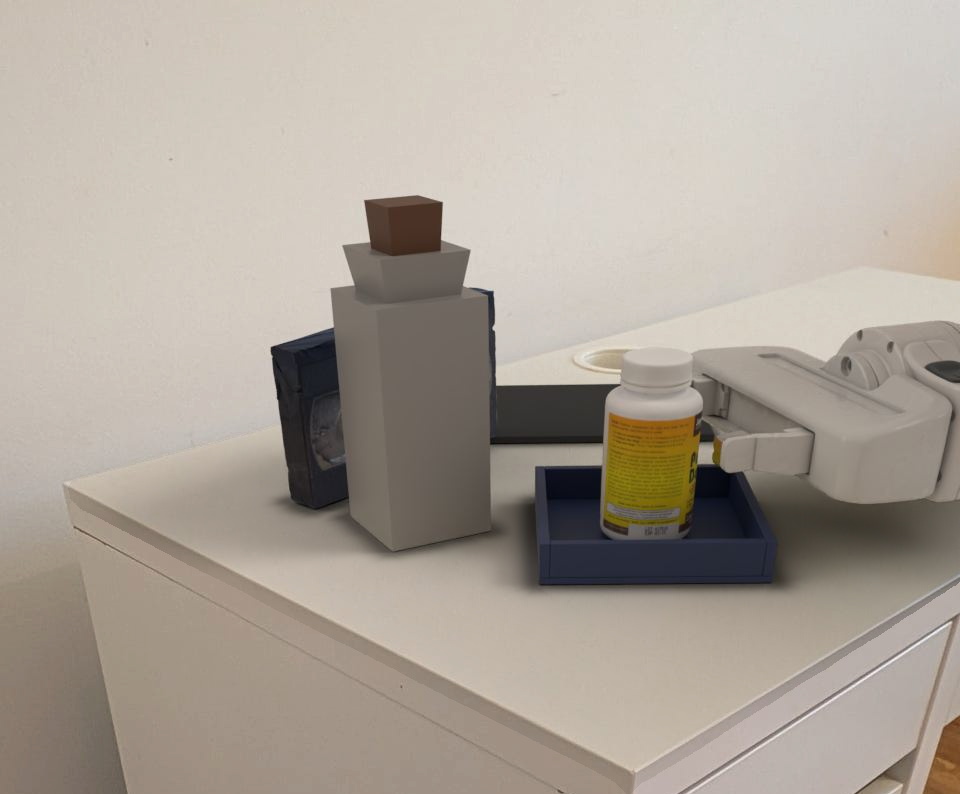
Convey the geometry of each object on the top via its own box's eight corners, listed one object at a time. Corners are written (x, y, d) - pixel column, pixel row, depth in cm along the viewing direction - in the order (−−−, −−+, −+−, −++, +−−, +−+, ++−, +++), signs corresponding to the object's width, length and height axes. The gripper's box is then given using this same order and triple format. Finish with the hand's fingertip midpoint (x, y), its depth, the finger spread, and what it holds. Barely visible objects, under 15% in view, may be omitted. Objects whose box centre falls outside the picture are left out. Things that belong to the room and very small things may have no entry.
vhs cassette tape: (313, 511, 75) (292, 351, 68) (285, 501, 76) (261, 343, 70) (504, 437, 85) (500, 291, 78) (475, 429, 86) (469, 285, 80)
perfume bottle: (350, 516, 74) (322, 199, 63) (444, 497, 76) (432, 189, 65) (392, 551, 69) (369, 214, 58) (491, 530, 71) (486, 203, 61)
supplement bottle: (699, 548, 67) (718, 366, 61) (606, 552, 67) (615, 370, 61) (680, 514, 72) (696, 341, 66) (593, 517, 72) (600, 344, 66)
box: (735, 500, 75) (739, 463, 73) (772, 582, 64) (778, 542, 63) (534, 502, 75) (535, 465, 74) (538, 584, 65) (539, 544, 63)
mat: (690, 388, 96) (690, 382, 96) (714, 440, 85) (714, 434, 84) (477, 391, 96) (477, 385, 96) (472, 443, 85) (472, 437, 85)
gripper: (805, 313, 75) (612, 332, 72) (1010, 392, 60) (775, 421, 56) (791, 411, 79) (607, 433, 76) (980, 510, 64) (759, 543, 60)
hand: (680, 429), depth 66 cm, fingers open, 8 cm apart
